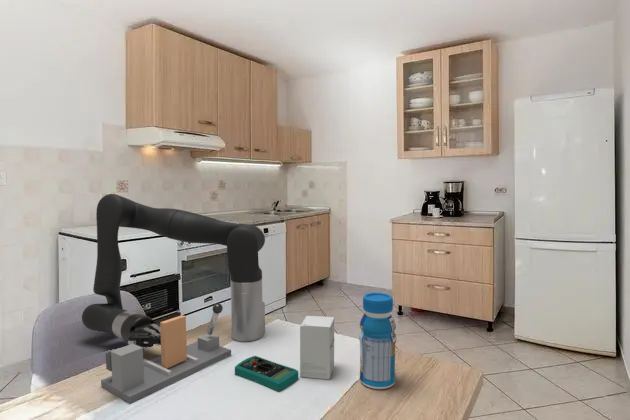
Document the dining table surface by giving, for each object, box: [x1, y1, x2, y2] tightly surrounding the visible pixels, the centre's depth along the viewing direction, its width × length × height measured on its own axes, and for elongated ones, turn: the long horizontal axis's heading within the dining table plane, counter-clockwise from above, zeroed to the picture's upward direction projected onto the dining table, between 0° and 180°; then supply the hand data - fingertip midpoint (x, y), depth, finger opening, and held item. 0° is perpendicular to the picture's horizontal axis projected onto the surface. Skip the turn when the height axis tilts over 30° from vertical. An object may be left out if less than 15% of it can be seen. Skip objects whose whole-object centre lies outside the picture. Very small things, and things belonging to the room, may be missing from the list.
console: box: [100, 333, 232, 405], centre depth 97 cm, size 28×12×10 cm, turn 144°
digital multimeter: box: [234, 355, 299, 392], centre depth 93 cm, size 7×15×3 cm, turn 55°
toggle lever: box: [206, 303, 224, 335], centre depth 104 cm, size 3×3×10 cm
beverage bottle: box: [358, 292, 397, 390], centre depth 90 cm, size 8×8×20 cm
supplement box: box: [299, 315, 335, 380], centre depth 95 cm, size 7×7×13 cm
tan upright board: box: [159, 314, 188, 368], centre depth 96 cm, size 6×2×11 cm, turn 144°
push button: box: [105, 351, 112, 372], centre depth 89 cm, size 4×2×4 cm, turn 144°
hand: (172, 342), depth 96 cm, fingers closed
